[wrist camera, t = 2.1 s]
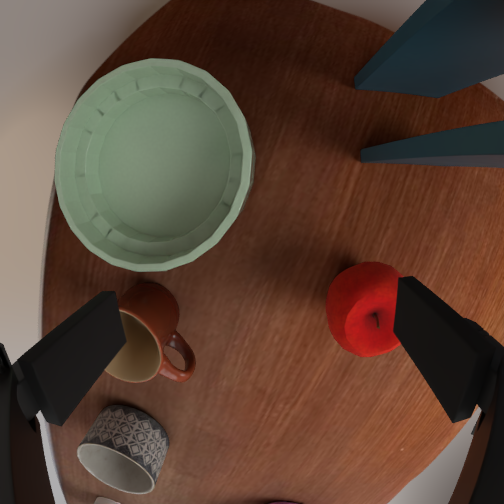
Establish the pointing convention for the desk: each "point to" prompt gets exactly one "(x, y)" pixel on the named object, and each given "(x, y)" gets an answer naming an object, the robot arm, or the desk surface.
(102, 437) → the planter
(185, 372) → the mug
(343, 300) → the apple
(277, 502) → the teapot
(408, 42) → the teal arch block
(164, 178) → the bowl
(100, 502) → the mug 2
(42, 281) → the desk surface
